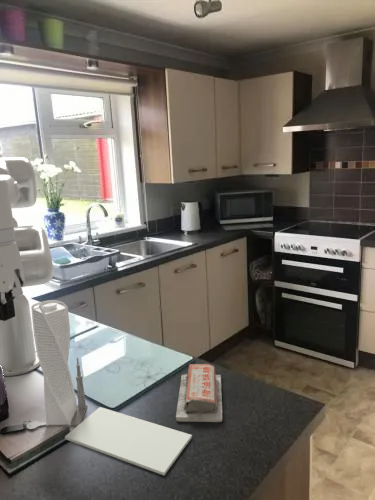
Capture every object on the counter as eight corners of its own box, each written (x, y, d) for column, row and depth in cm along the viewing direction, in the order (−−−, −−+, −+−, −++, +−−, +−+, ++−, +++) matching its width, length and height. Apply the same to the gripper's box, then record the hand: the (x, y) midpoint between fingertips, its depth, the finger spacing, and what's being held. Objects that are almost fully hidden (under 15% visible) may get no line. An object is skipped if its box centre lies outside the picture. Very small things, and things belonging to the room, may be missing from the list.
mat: (65, 439, 83) (64, 436, 83) (100, 409, 93) (99, 406, 92) (164, 475, 73) (164, 472, 73) (191, 437, 82) (191, 435, 82)
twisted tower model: (77, 430, 85) (64, 303, 79) (38, 431, 86) (22, 304, 79) (87, 406, 94) (75, 289, 87) (51, 407, 94) (37, 290, 87)
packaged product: (180, 361, 104) (220, 361, 103) (181, 378, 105) (221, 378, 104) (174, 403, 86) (222, 403, 86) (175, 424, 87) (222, 424, 87)
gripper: (-44, 238, 87) (-31, 319, 91) (5, 242, 80) (17, 330, 84) (-13, 231, 94) (-2, 308, 98) (35, 235, 87) (44, 317, 91)
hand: (7, 318), depth 91 cm, fingers closed
